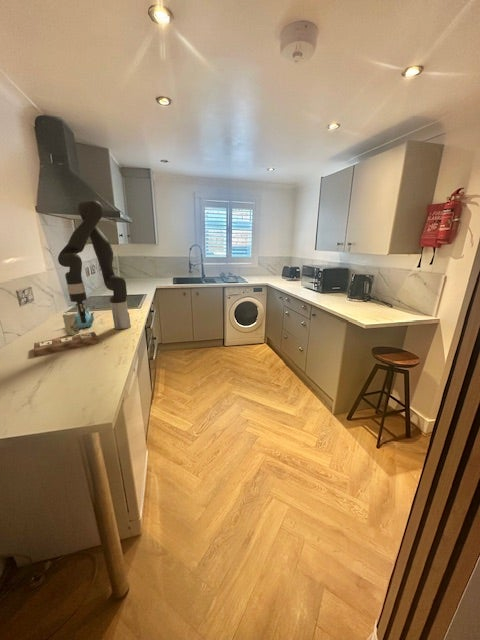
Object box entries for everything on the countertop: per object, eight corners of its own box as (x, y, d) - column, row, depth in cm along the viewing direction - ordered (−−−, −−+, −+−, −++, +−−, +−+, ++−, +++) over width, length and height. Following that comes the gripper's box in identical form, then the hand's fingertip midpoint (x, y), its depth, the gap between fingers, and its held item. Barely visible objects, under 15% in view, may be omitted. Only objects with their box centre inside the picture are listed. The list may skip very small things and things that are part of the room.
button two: (53, 346, 135) (51, 340, 134) (53, 349, 131) (51, 342, 130) (41, 348, 132) (39, 342, 131) (41, 352, 128) (39, 345, 127)
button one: (72, 342, 140) (71, 336, 139) (73, 345, 136) (72, 339, 135) (62, 345, 137) (60, 338, 136) (62, 348, 133) (61, 341, 132)
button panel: (95, 336, 149) (94, 331, 148) (98, 342, 140) (97, 337, 139) (35, 348, 133) (34, 343, 132) (35, 356, 124) (33, 350, 123)
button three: (91, 339, 145) (90, 332, 144) (92, 341, 141) (91, 335, 140) (81, 341, 142) (79, 334, 141) (82, 343, 138) (81, 337, 137)
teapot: (71, 331, 157) (68, 316, 154) (66, 326, 168) (63, 311, 164) (97, 326, 167) (94, 311, 164) (91, 321, 177) (88, 307, 174)
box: (72, 335, 150) (68, 315, 147) (66, 335, 151) (61, 314, 147) (79, 332, 155) (75, 312, 152) (73, 332, 156) (69, 312, 152)
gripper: (87, 292, 130) (93, 324, 136) (83, 288, 140) (89, 318, 146) (69, 295, 126) (77, 327, 132) (67, 290, 136) (74, 321, 141)
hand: (84, 322), depth 139 cm, fingers closed
